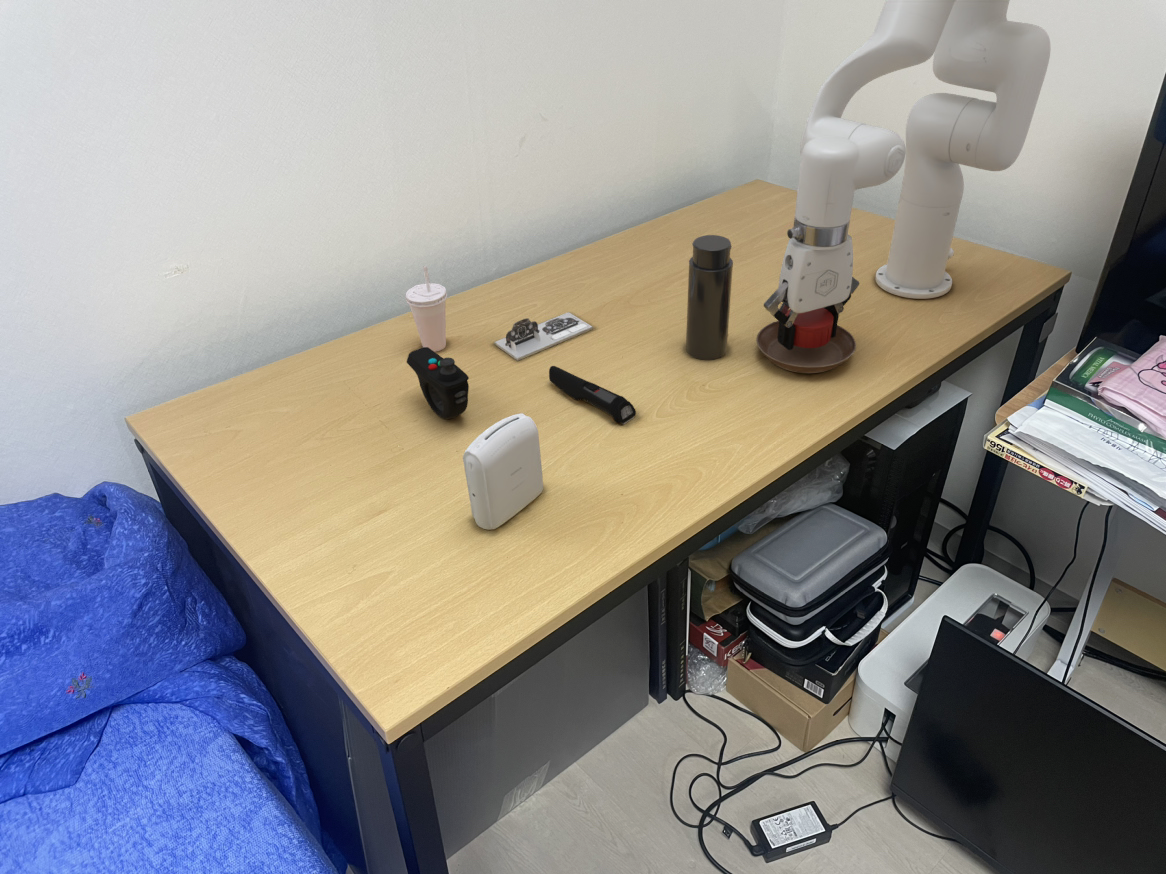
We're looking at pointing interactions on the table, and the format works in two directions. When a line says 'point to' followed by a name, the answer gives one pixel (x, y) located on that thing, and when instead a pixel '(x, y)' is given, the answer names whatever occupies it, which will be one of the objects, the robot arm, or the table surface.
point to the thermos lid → (813, 328)
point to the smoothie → (429, 312)
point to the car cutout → (540, 335)
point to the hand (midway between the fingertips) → (806, 338)
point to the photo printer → (503, 470)
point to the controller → (440, 382)
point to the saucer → (806, 351)
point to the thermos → (709, 297)
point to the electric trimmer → (593, 395)
